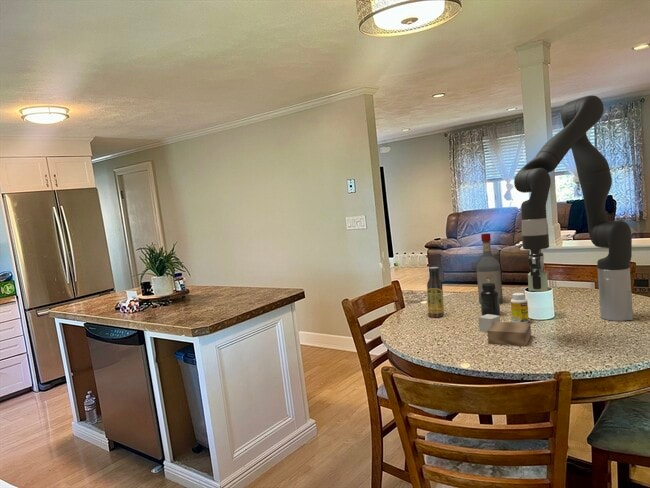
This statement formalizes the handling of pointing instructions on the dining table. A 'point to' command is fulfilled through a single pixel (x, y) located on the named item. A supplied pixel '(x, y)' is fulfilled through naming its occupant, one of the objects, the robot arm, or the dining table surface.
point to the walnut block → (509, 333)
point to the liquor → (488, 268)
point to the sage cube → (543, 282)
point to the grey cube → (487, 321)
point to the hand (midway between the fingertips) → (538, 287)
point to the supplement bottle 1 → (489, 300)
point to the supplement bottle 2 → (519, 308)
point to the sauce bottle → (435, 294)
